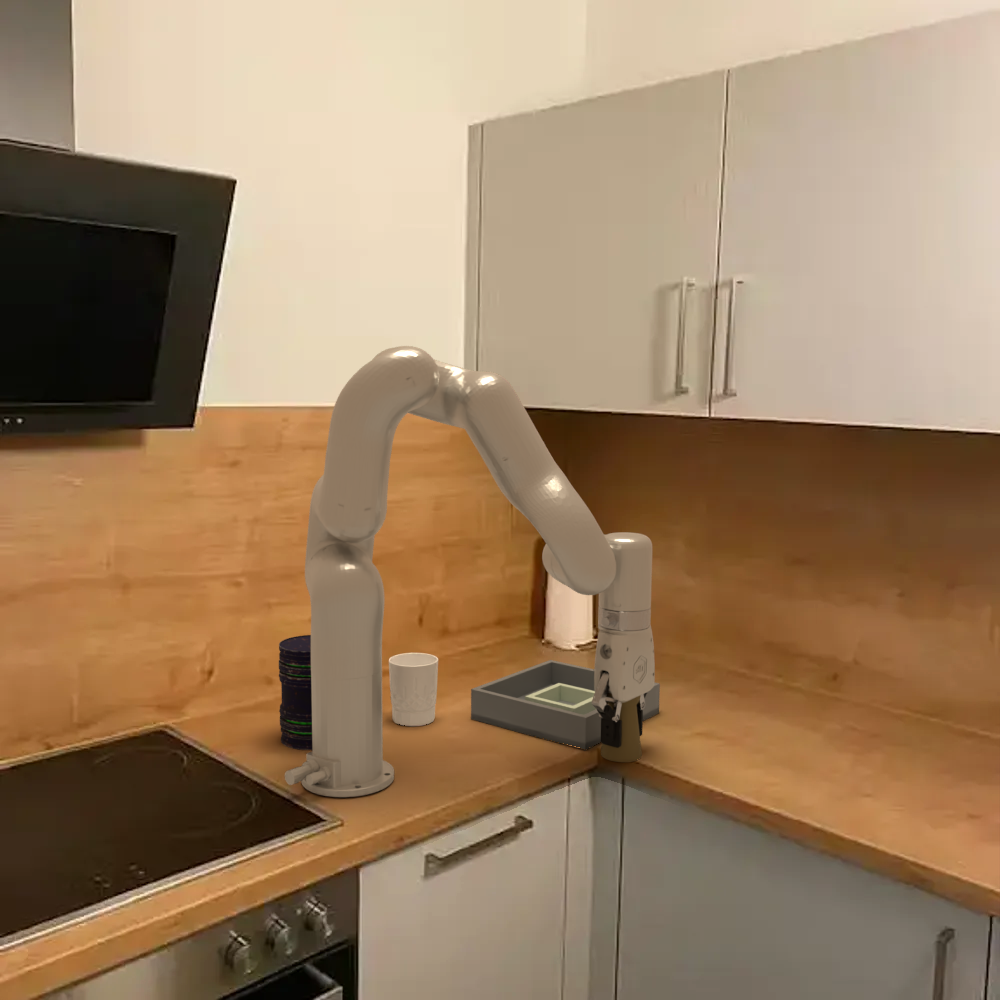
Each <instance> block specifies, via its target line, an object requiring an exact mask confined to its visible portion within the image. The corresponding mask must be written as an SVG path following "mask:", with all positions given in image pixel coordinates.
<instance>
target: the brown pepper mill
mask: <svg viewBox="0 0 1000 1000" xmlns="http://www.w3.org/2000/svg"><path fill="white" fill-rule="evenodd" d="M608 697H612V698H613V696H612V693H608ZM640 697H641V695H640V696H638V697H636V698H634V699H632V700H630V701H627V702H625V703H622V705H621V711H620V717H619V720H622V738H621V747H619V748H616V747H612V746H609V745H605V744H602V743H601V749H600V756H601V757H602V758H603V759H605V760H608V761H611V762H616V763H617V762H618V763H631V762H632V763H633V762H636V761H638V760H637V759H639V758H640V757H641V756H643V754H642V753H643V752H642V745H641V736H640V733H639V724H638V715H637V706H636V705H637V703H638V702H639V701H640ZM608 705H610V706H611V708H612V709H614V703H613V702H608ZM641 758H642V757H641ZM639 760H640V759H639Z"/></svg>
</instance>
